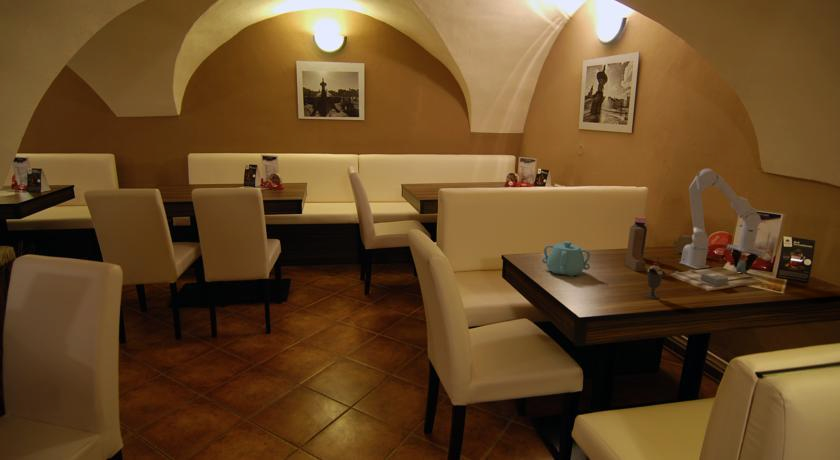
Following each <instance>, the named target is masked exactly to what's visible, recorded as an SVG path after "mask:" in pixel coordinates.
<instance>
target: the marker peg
mask: <svg viewBox="0 0 840 460" xmlns="http://www.w3.org/2000/svg"><path fill="white" fill-rule="evenodd" d="M746 266H747V258H743V257H740V258H738V263H737V268H735V272H736V271H737V272H741V273H746V274H747V273H748V271H747V270H746ZM741 273H740V274H741Z"/></svg>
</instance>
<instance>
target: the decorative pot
mask: <svg viewBox="0 0 840 460" xmlns="http://www.w3.org/2000/svg"><path fill="white" fill-rule="evenodd" d="M548 248H552V249H551V250H550V252H549V253H548V252H547V249H548ZM584 253H585V254H586V255H587V256H586V258H585V257H584ZM543 255H544V256H545V257H542V259H541V262H542V263H543V264H544V265H545V264H546V267H547V269H548V271H550V272H552V274H553V273H555V274H554V275H560V274H561V275H567V276H568V277H571V278H572V277H575V276H577V275H580V274H581V273H582V272H583V270H585V271H588V270H589V269H591V265H590V264H589V263H588V262H589V260H590V257H591V252H589V251H588V250H587V249H585V248H581V247H580V246H579V245H577V244H572V242H571V241H569V240H568V241H567V240H566V241H563V243H561V242H558V243H556V244H554V245H553V244H548V245H546V246H544V249H543Z"/></svg>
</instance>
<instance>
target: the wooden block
mask: <svg viewBox="0 0 840 460" xmlns="http://www.w3.org/2000/svg"><path fill="white" fill-rule="evenodd" d="M628 235H629V236H628V241H627V250H626V258H625V263H624V264H625V266H626V267H627V268H629V269H631V270H633V271H634V272H644V271H645V272H646V264H647V262H646V261H645V260H644V257H643V258H642V244H643V237H644V229H643V228H641V227H632V226H630V227H629V234H628Z"/></svg>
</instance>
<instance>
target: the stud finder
mask: <svg viewBox="0 0 840 460" xmlns="http://www.w3.org/2000/svg"><path fill="white" fill-rule="evenodd" d="M701 281H704V282H706V283H709V284H712V285H714V286H715V287H718V286H725V285H727V282H728V278H726V277H724V276H721V275H718V274H715V273H705V274H702V275H701Z"/></svg>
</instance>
